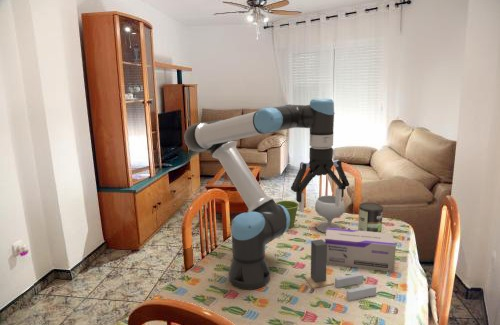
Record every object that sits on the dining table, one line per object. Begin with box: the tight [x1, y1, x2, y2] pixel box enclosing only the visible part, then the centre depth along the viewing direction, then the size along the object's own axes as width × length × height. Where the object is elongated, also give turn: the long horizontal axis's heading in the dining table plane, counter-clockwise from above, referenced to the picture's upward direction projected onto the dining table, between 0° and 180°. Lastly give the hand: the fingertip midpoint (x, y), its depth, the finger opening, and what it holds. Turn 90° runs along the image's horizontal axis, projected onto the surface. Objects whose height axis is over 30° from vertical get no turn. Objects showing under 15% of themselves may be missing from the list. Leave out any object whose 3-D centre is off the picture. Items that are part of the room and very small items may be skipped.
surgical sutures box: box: [324, 228, 397, 273], centre depth 130 cm, size 25×11×11 cm, turn 74°
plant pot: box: [275, 200, 299, 229], centre depth 165 cm, size 12×12×11 cm
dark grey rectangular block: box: [310, 238, 328, 283], centre depth 117 cm, size 4×4×14 cm
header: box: [334, 272, 377, 302], centre depth 112 cm, size 10×9×3 cm
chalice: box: [314, 195, 346, 234], centre depth 160 cm, size 14×14×15 cm
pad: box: [302, 273, 335, 289], centre depth 119 cm, size 8×8×1 cm
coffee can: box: [357, 202, 384, 233], centre depth 152 cm, size 10×10×14 cm
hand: (319, 208), depth 113 cm, fingers open, 13 cm apart
